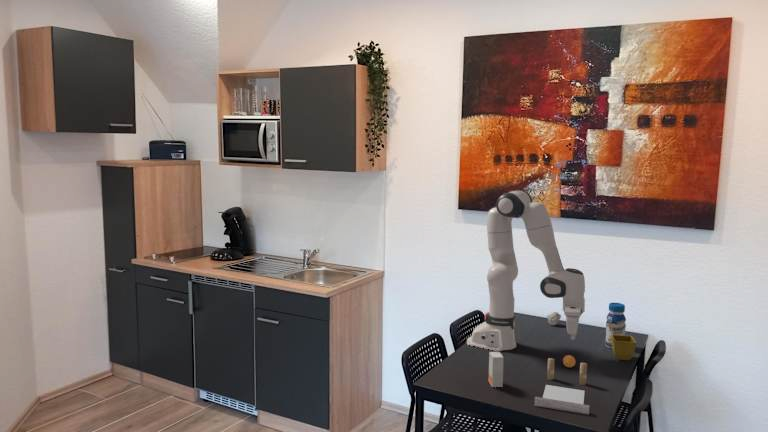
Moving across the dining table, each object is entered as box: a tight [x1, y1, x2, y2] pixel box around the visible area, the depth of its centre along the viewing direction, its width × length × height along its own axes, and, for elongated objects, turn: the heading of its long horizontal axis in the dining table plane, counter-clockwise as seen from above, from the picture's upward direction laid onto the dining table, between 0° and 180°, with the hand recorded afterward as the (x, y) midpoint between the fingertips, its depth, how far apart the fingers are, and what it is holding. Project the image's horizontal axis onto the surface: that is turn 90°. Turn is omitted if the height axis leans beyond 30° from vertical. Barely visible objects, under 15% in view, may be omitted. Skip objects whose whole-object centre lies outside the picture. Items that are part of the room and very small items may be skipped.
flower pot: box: [611, 335, 637, 361], centre depth 247 cm, size 9×9×9 cm
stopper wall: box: [533, 396, 590, 415], centre depth 197 cm, size 18×2×2 cm, turn 69°
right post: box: [578, 362, 588, 386], centre depth 219 cm, size 2×2×8 cm
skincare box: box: [488, 351, 504, 389], centre depth 217 cm, size 6×4×12 cm
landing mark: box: [542, 384, 586, 405], centre depth 209 cm, size 14×14×1 cm
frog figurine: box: [546, 311, 562, 326], centre depth 294 cm, size 6×7×7 cm
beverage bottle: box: [604, 302, 627, 349], centre depth 261 cm, size 8×8×20 cm
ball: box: [562, 354, 577, 369], centre depth 236 cm, size 5×5×5 cm
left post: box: [546, 357, 555, 381], centre depth 223 cm, size 2×2×8 cm
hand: (573, 338), depth 243 cm, fingers closed
